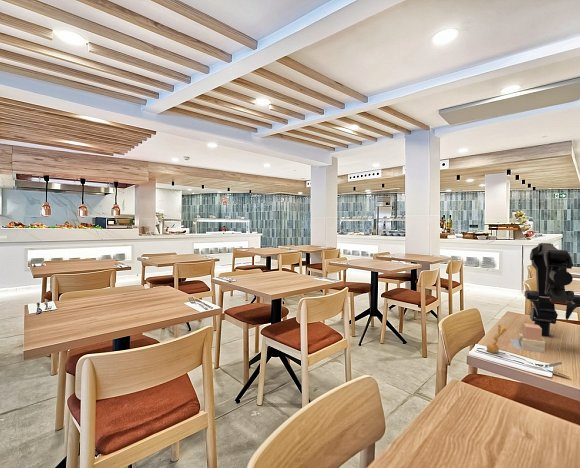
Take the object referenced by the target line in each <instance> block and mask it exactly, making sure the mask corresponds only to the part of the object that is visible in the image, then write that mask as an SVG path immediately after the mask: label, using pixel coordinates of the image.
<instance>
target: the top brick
mask: <svg viewBox="0 0 580 468" xmlns="http://www.w3.org/2000/svg"><path fill="white" fill-rule="evenodd" d="M521 334H522V335H523V336H524V337H525V339H529V340H536V341H541V339H542V337H543V336H542V328H541V327H540V326H539V325H535V324H534V323H526V322H523V323H522V333H521Z"/></svg>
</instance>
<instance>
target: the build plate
mask: <svg viewBox="0 0 580 468" xmlns="http://www.w3.org/2000/svg"><path fill="white" fill-rule="evenodd" d="M508 340H510V343H511V344H512V345H513V347H514V349H515V350H516V349H517V350H520V351H521V350H523V351H525V350H524V349H522V347H521V346H520V345H519V339H517V338H508ZM526 351H529V352H532V351H531V350H526ZM533 352H535V353H538V352H537V351H533ZM539 353H542V354H547V352H546V351H545V352H539Z"/></svg>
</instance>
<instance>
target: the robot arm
mask: <svg viewBox="0 0 580 468" xmlns="http://www.w3.org/2000/svg"><path fill="white" fill-rule="evenodd" d="M529 260H530V261H531V262H530V263H531V266H532V267H533V268H534V269H535V275H536V276H535V279H536V290H530V289H526V290H524V295H523V296H524V297H525V299H527V300H529V301H530V302H532V304H533V305H532V308H531V310H530V312H529V313H530V314H529V319H530V320H531V321H532V322H534V323H533V324H535V325H539V326H540V327H541V328H542V336H541V337H548V338H549V337H550V338H552V335H551V324H553V325H556V324H557V320H558V316H559V314H558V312H557V310H556V305H555V303H561V304H566V307H565V308H566V309H565V320H567V321H568V320H569V318H570V316H571V315H572V313H573V312H574V311H575V310H576V309H577V308H578V307H579V308H580V294H575V291H574V290H566V288H565V286H569V285H571V284H572V282H573V279H574V277H573V275H572V274H571V272H570V271H569V272H568V270H567V269H571V270H572V267H573V266H574V264H573V260H572V256H571V254H570V253H569V252H568V251H567V250H566V249H558V248H557V247H556V246H554V244H553V243H550V242H548V243H547V242H540V243H538V245H537V246H535V247H533V248H532V249H531V251H530V254H529Z"/></svg>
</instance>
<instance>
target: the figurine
mask: <svg viewBox="0 0 580 468" xmlns="http://www.w3.org/2000/svg"><path fill="white" fill-rule="evenodd" d="M497 327H498V329H497V331H498V333H497V334H495V335H494V337H493V342H489V343H488V344H487V345H486V350H487V351H488V352H489V353H490V354H498V353H499V351H500V349H499V345H498V342H499V338H500V337H501V336H503V334H504V333H505V332H506V331H507V327H506V326H504V325H501V324H500V323H498V324H497Z"/></svg>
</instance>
